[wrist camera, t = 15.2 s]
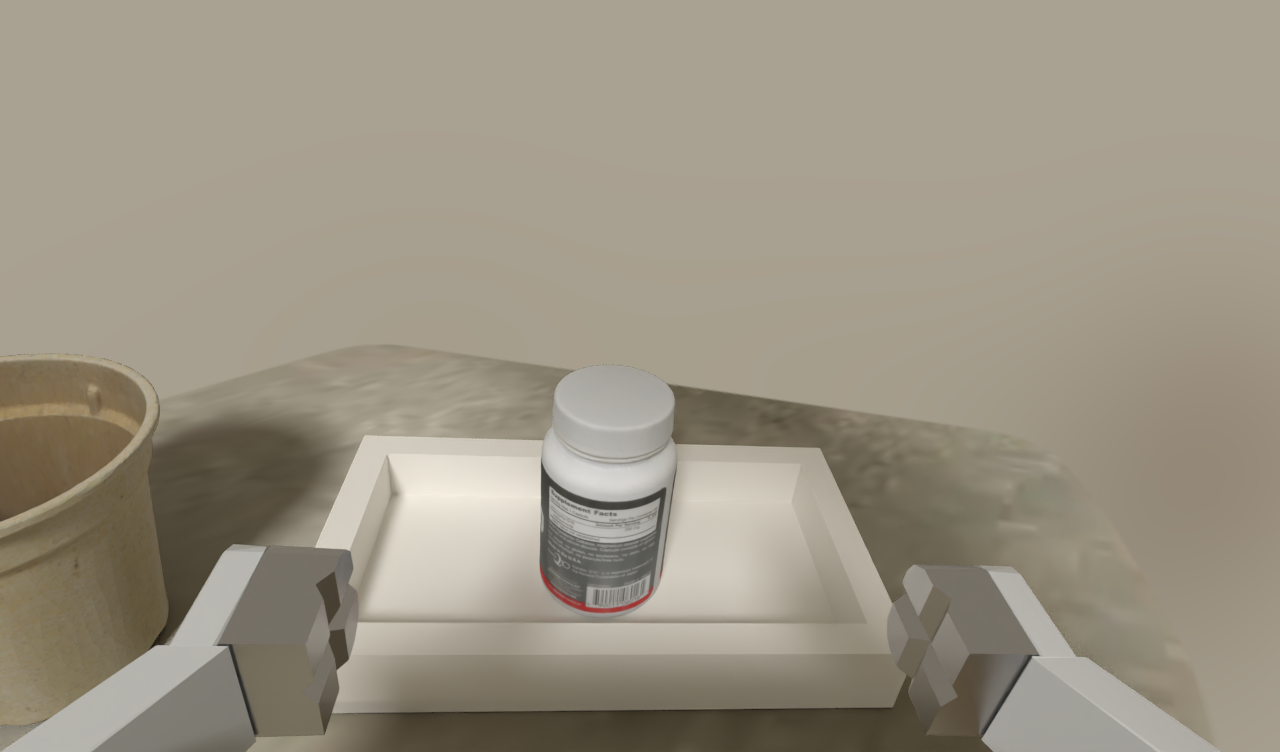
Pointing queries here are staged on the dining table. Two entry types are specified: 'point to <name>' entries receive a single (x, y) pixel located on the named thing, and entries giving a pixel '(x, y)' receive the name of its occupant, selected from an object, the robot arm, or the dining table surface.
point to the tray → (619, 646)
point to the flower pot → (74, 529)
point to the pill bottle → (606, 489)
